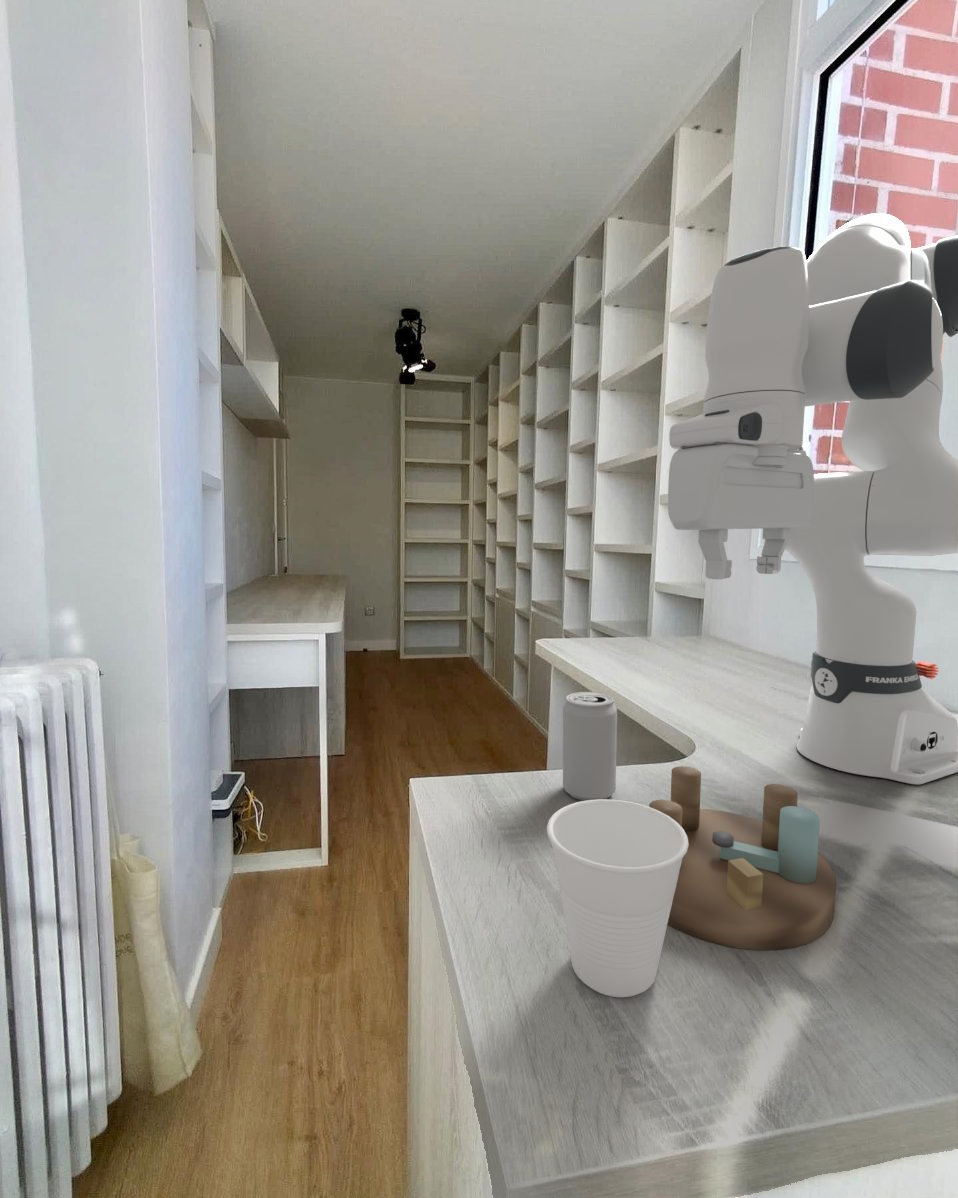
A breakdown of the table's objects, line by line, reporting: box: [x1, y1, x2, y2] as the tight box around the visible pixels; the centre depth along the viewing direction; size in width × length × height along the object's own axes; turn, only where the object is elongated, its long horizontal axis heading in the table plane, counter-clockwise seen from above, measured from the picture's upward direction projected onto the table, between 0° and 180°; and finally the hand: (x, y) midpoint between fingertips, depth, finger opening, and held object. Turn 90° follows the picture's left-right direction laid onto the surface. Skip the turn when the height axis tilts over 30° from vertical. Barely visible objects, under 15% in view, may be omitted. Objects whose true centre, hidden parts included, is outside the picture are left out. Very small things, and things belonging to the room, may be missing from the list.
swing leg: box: [712, 806, 821, 884], centre depth 53 cm, size 8×3×5 cm, turn 59°
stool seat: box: [648, 765, 837, 951], centre depth 55 cm, size 18×18×8 cm
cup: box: [546, 798, 689, 998], centre depth 44 cm, size 10×10×11 cm
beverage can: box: [562, 691, 618, 801], centre depth 73 cm, size 6×6×12 cm
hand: (744, 576), depth 59 cm, fingers open, 8 cm apart
